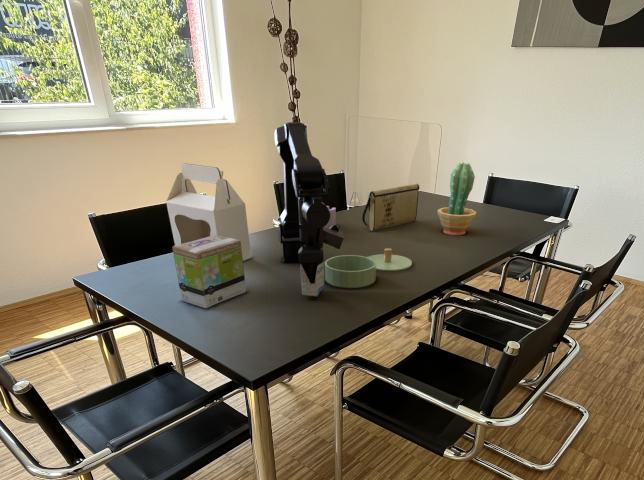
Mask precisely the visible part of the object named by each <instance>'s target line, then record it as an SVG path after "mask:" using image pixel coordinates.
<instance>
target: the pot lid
mask: <svg viewBox="0 0 644 480" xmlns="http://www.w3.org/2000/svg"><path fill="white" fill-rule="evenodd" d="M383 252H384V253H379V254H378V253H377V254H372V255H369V256H367V257H368V258H370V259H373V260H374V261H375V262H376V271H380V272H381V271H382V272H400V271H404V270H408V269H409V268H411V267H412V266H413V261H412V259H410V258H408V257H406V256H403V255H399V254H393V249H392V248H389V247H385V249H384V251H383Z"/></svg>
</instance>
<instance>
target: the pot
mask: <svg viewBox="0 0 644 480" xmlns="http://www.w3.org/2000/svg"><path fill="white" fill-rule="evenodd" d="M368 257H369V256H363V255H356V254H344V255H336V256H332V257H330V258H327V259H326V260H325V261H324V281H325V282H326V283H328V284H329V285H331V286H335V287H339V288H346V289H347V288H349V289H350V288H351V289H352V288H355V289H356V288H363V287H367V286H370V285H372V284H374V283H375V281H376V280H377V270H376V262H375V261H374V260H373V259H370V258H368Z"/></svg>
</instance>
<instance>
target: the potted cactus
mask: <svg viewBox="0 0 644 480" xmlns="http://www.w3.org/2000/svg"><path fill="white" fill-rule="evenodd" d="M475 178H476V176H475V173H474V171H473V168H472V166H471V164H470V162H467V163H465V162H462V163H461V162H459V163H457V164H456V166H455V167H454V168H453V170H452V171H451V173H450V179H449V189H450V190H449V191H450V197H449V202H448V206H447V207H441V208H438V209H437V211H436V212H437V216H438V218H439V222H440V224H441V226H442V228H443V231H442V233H444V234H446V235H450V236H462V235H466V230H467V229H468V228H469V226H470V225H471V223H472V221H473V219H475V217H476V215H477V211H475V210H474V209H471V208H466V205H467V203H468V198H469V196H470V194H471V192H472V191H473V187H474V183H475Z"/></svg>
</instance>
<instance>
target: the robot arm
mask: <svg viewBox="0 0 644 480" xmlns="http://www.w3.org/2000/svg"><path fill="white" fill-rule="evenodd" d="M273 133H274V135H273V136H274V146H275V147H276V149H277V152H278V154H279V157H280V158H281V160H282V165H283V167H282V168H283V193H284V195H283V196H284V209H283V211H282V213H281V214H280V216H279V223H278V229H277V238H278V239H277V240H278V242H279V243H280V244H282V256H283V259H282V262H283V263H299V264H300V265H302V267H303V269H304V271H305V273H306V275H307V277H308V279H309V282H310V283H311V284H314V283H315V278H316V272H317V267H318V265H319V264H321V263H322V262H323V258H324V249H323V247H324V244H325V245H328V246H330V247H334V248H335V249H336V250H340V249H341V247H342V244H343V241H344V238H345V236H344V233H343V232H342V231H340V229H339V228H340V227H339V225H338V224H336V225H335V224H333V225H332V226H331V227H330V228H329V227H324V226H326V225H327V224H328V222H329V220H330V212H329V209H330V208H329V209H328V207H327V206H328V205H326V204H325V203H324V201H323V198H324V197H325V198H326V197H329V192H330V184H329V180H328V176H327V175H328V174H327V173H326V170H325V168H323V166H322V163H321V162H320V160H319V158H317V157H316V156H313V154H312V151H311V148H310V144H309V140H308V131H307V127H306V125H305V123H304V122H301V121H291V122H290V121H288V122H286V123H285V122H284V124H283V125H281V126H279V127H276V128H275V130H274V132H273Z"/></svg>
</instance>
